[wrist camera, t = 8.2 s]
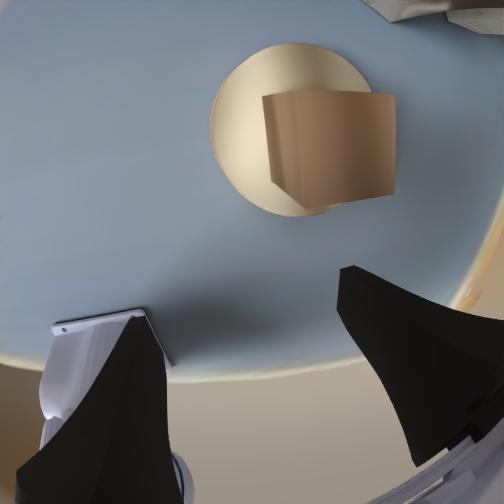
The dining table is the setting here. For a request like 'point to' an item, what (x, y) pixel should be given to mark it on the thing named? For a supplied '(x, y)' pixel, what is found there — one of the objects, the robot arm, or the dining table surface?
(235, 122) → the birch board
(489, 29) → the supplement box
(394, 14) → the coffee box
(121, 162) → the dining table surface
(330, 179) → the walnut block
